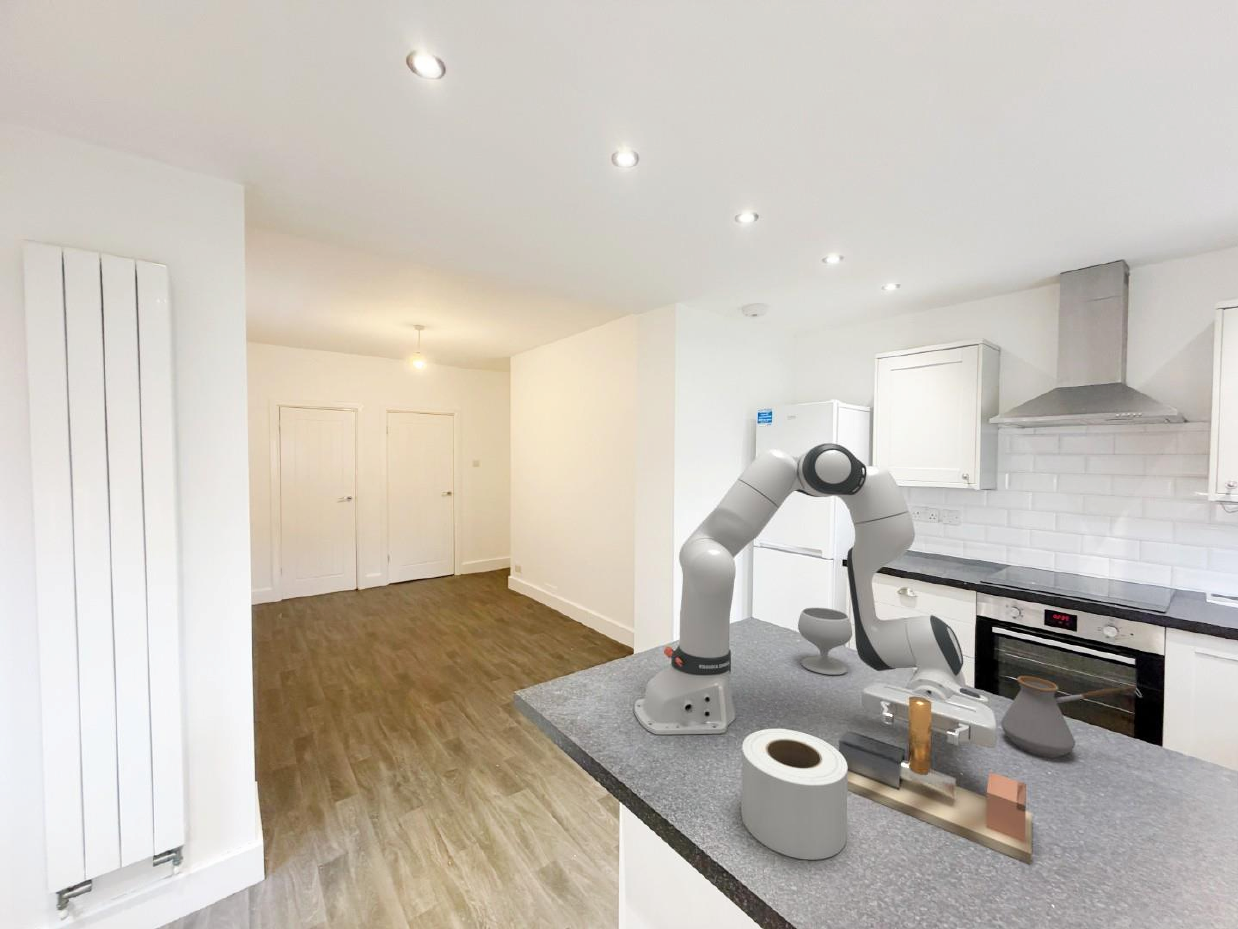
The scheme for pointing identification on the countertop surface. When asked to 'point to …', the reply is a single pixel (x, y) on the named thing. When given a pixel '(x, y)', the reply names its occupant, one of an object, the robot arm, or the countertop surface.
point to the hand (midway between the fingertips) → (918, 729)
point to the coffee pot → (1044, 717)
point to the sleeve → (872, 758)
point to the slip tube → (923, 752)
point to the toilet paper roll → (794, 793)
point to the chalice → (824, 637)
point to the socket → (1006, 806)
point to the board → (945, 812)
